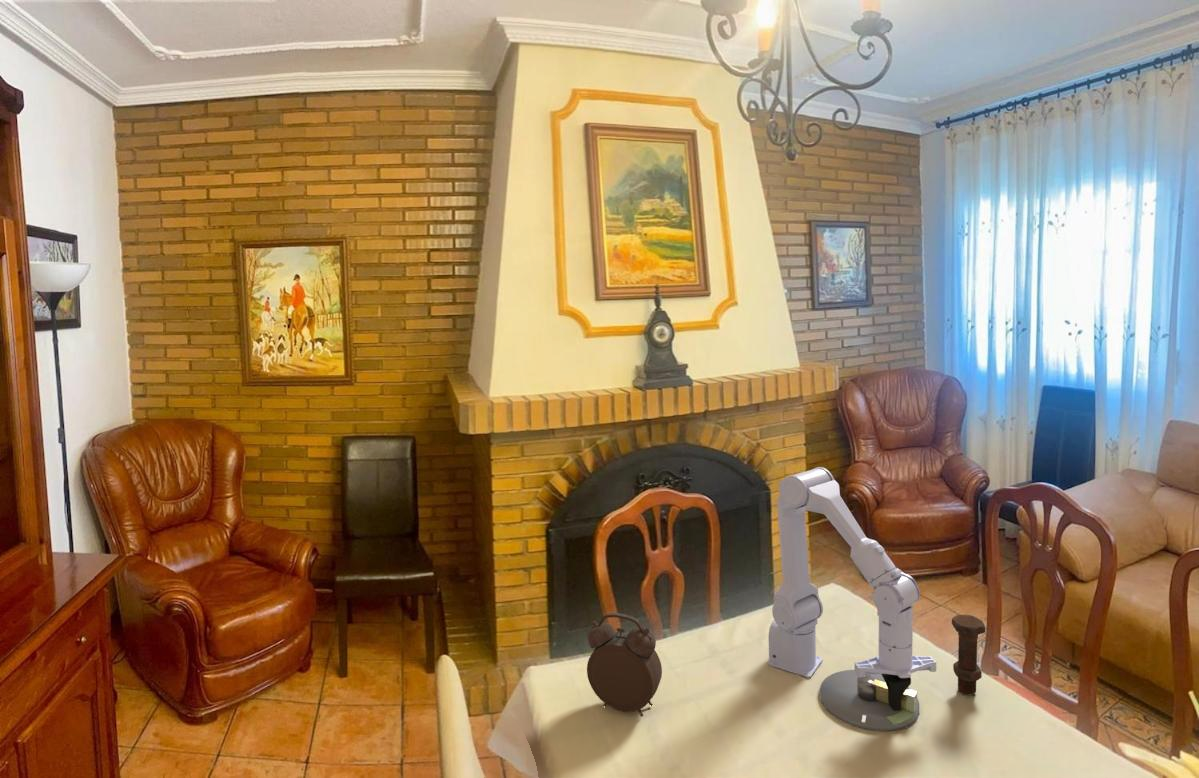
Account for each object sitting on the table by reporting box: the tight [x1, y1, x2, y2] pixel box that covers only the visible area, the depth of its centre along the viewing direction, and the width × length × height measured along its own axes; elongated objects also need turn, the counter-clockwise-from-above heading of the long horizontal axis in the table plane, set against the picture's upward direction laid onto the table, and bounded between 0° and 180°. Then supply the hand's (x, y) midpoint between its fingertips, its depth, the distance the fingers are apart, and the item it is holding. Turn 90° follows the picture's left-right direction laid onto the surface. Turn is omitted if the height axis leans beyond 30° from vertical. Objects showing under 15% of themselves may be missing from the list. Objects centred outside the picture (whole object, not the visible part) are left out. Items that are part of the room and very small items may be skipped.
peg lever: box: [857, 675, 918, 712], centre depth 126 cm, size 11×4×3 cm, turn 50°
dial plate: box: [819, 669, 920, 733], centre depth 129 cm, size 18×18×1 cm
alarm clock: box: [586, 612, 663, 717], centre depth 130 cm, size 14×7×20 cm, turn 65°
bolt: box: [951, 614, 986, 695], centre depth 128 cm, size 6×5×15 cm
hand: (894, 707), depth 123 cm, fingers closed, pressing on peg lever
